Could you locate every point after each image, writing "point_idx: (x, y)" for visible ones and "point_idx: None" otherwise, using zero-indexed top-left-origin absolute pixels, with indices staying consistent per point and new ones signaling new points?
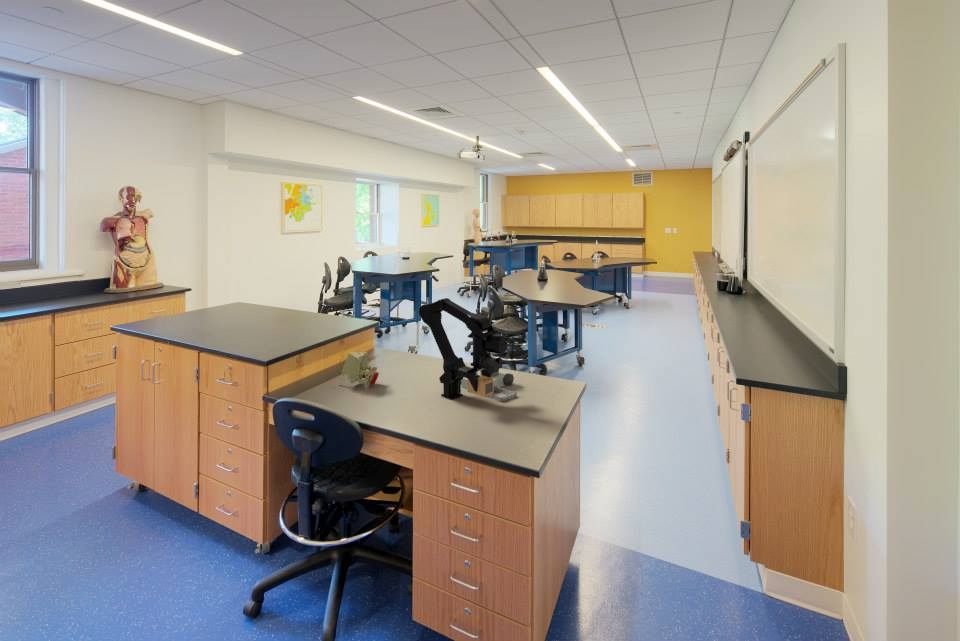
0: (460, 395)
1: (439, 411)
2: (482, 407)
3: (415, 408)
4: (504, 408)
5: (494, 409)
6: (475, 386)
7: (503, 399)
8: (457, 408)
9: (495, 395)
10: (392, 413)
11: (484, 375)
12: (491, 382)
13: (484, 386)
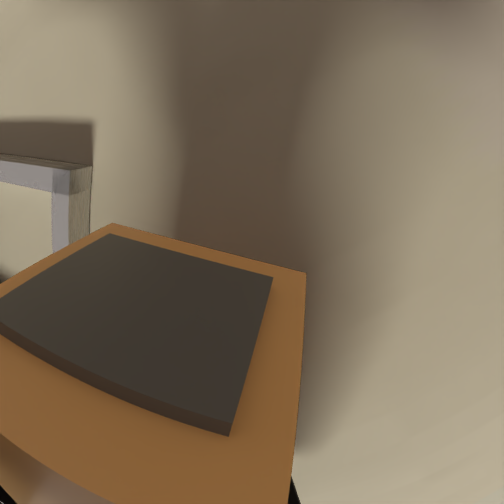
0: None
1: (467, 436)
2: (295, 252)
3: (441, 499)
4: (199, 50)
5: (278, 116)
6: (296, 500)
7: (61, 165)
8: (401, 400)
9: None
10: (492, 500)
11: (2, 493)
12: (2, 335)
13: (288, 408)
